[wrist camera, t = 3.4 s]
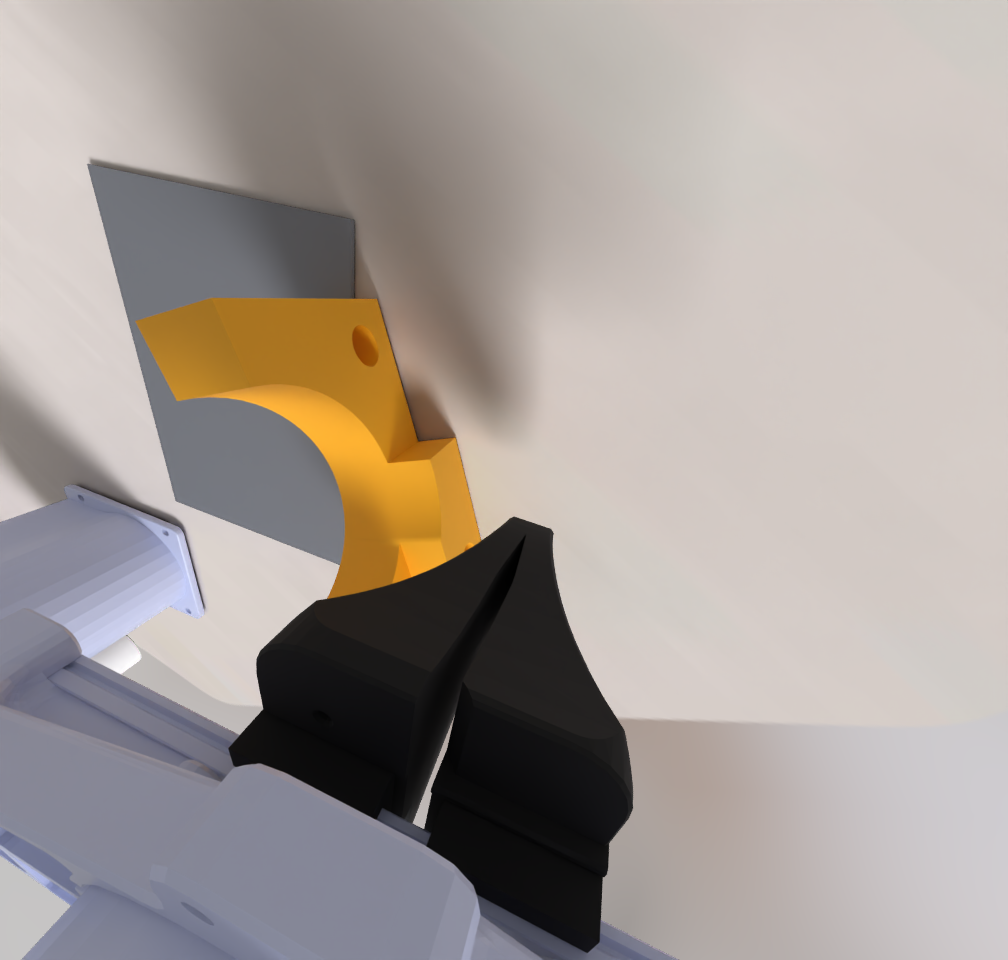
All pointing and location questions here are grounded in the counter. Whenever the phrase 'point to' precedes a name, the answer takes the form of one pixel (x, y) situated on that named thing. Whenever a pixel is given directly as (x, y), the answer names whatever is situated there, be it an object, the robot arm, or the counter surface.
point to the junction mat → (229, 274)
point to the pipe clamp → (331, 419)
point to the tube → (119, 655)
